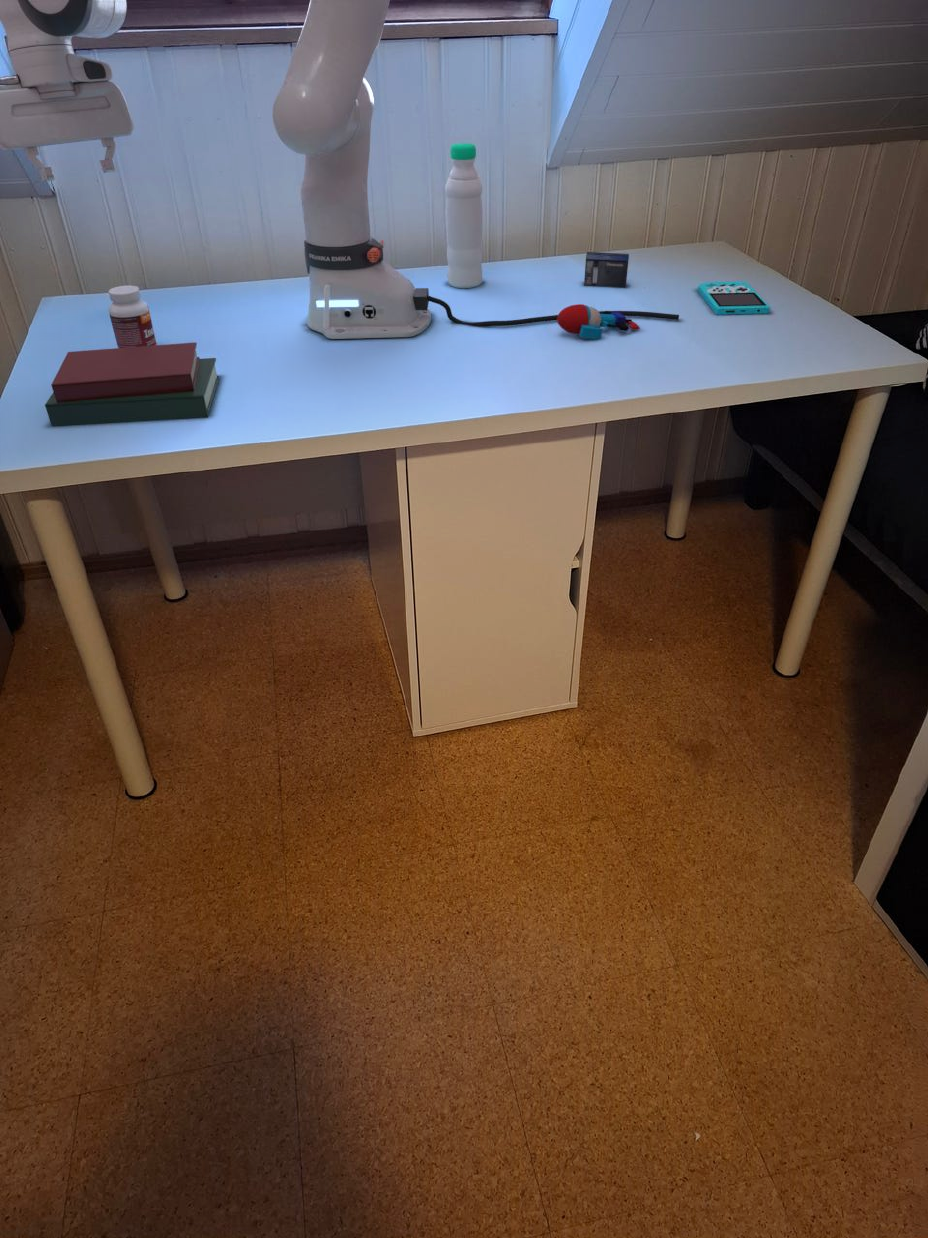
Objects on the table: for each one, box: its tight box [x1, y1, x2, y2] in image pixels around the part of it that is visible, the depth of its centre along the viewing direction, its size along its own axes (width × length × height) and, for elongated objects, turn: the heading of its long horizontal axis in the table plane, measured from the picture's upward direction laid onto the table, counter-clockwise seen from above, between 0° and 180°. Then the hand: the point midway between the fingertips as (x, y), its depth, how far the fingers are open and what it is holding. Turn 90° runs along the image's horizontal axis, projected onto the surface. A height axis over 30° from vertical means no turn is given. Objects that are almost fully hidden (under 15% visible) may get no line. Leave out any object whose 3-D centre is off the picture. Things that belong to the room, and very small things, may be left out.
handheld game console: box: [697, 280, 771, 316], centre depth 164 cm, size 10×16×1 cm, turn 2°
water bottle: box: [444, 142, 483, 289], centre depth 167 cm, size 7×7×25 cm
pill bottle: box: [108, 285, 158, 348], centre depth 142 cm, size 6×6×11 cm
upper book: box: [51, 341, 201, 402], centre depth 128 cm, size 19×13×3 cm
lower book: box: [44, 357, 220, 427], centre depth 130 cm, size 22×15×3 cm
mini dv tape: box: [583, 251, 630, 289], centre depth 171 cm, size 8×2×6 cm, turn 77°
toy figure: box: [556, 303, 641, 340], centre depth 151 cm, size 8×5×15 cm
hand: (79, 176), depth 135 cm, fingers open, 8 cm apart
